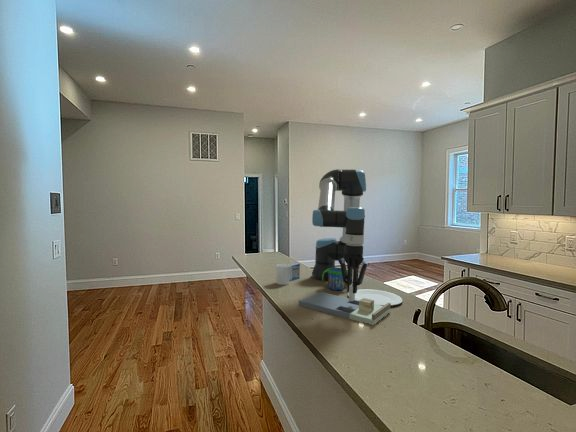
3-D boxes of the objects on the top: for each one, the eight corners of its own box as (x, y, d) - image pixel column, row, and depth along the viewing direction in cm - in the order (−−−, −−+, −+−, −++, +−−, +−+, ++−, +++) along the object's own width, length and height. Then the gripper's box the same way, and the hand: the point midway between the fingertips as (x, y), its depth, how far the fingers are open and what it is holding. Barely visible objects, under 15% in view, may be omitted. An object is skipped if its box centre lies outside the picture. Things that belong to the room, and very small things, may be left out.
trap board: (319, 295, 153) (320, 287, 153) (390, 312, 133) (390, 303, 133) (298, 305, 139) (299, 296, 138) (374, 325, 119) (374, 314, 118)
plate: (341, 302, 145) (341, 299, 145) (354, 289, 168) (354, 286, 168) (399, 312, 134) (399, 308, 134) (405, 297, 157) (405, 293, 157)
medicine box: (291, 280, 180) (292, 265, 180) (285, 279, 183) (285, 264, 183) (299, 278, 187) (300, 263, 186) (293, 277, 189) (294, 262, 189)
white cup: (283, 280, 180) (283, 263, 179) (293, 283, 174) (293, 265, 173) (272, 283, 174) (273, 264, 173) (282, 286, 168) (283, 267, 168)
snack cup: (350, 286, 171) (351, 268, 171) (352, 292, 161) (353, 272, 160) (321, 285, 173) (322, 266, 172) (321, 290, 162) (322, 270, 162)
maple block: (363, 307, 132) (363, 297, 132) (373, 309, 130) (374, 300, 130) (358, 310, 129) (359, 300, 129) (369, 312, 126) (369, 302, 126)
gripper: (335, 243, 133) (333, 299, 135) (365, 247, 126) (362, 306, 127) (343, 241, 139) (341, 294, 141) (372, 245, 132) (369, 301, 133)
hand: (351, 300), depth 134 cm, fingers closed
